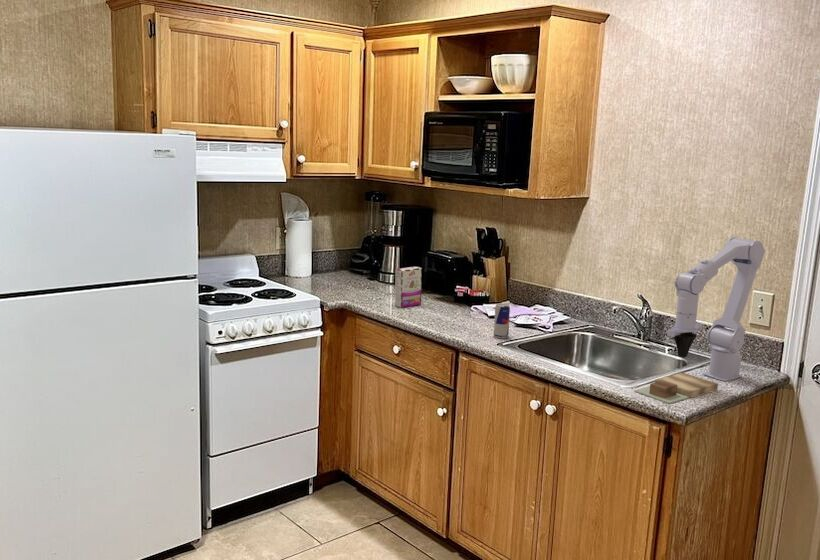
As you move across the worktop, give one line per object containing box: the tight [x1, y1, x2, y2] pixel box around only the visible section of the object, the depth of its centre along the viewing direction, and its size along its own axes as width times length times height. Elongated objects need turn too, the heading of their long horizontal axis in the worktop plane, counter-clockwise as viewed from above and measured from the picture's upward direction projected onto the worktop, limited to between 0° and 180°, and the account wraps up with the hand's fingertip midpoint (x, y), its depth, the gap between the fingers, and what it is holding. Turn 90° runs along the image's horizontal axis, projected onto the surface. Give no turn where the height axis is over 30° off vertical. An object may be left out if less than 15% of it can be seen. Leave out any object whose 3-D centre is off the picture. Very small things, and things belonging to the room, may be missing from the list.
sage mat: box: [633, 385, 690, 405], centre depth 217 cm, size 9×12×1 cm
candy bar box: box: [394, 266, 423, 309], centre depth 319 cm, size 11×5×16 cm, turn 129°
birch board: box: [654, 372, 719, 399], centre depth 224 cm, size 14×12×2 cm
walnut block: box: [649, 380, 677, 399], centre depth 216 cm, size 6×5×3 cm
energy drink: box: [493, 303, 511, 340], centre depth 274 cm, size 5×5×12 cm
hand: (682, 356), depth 225 cm, fingers closed
